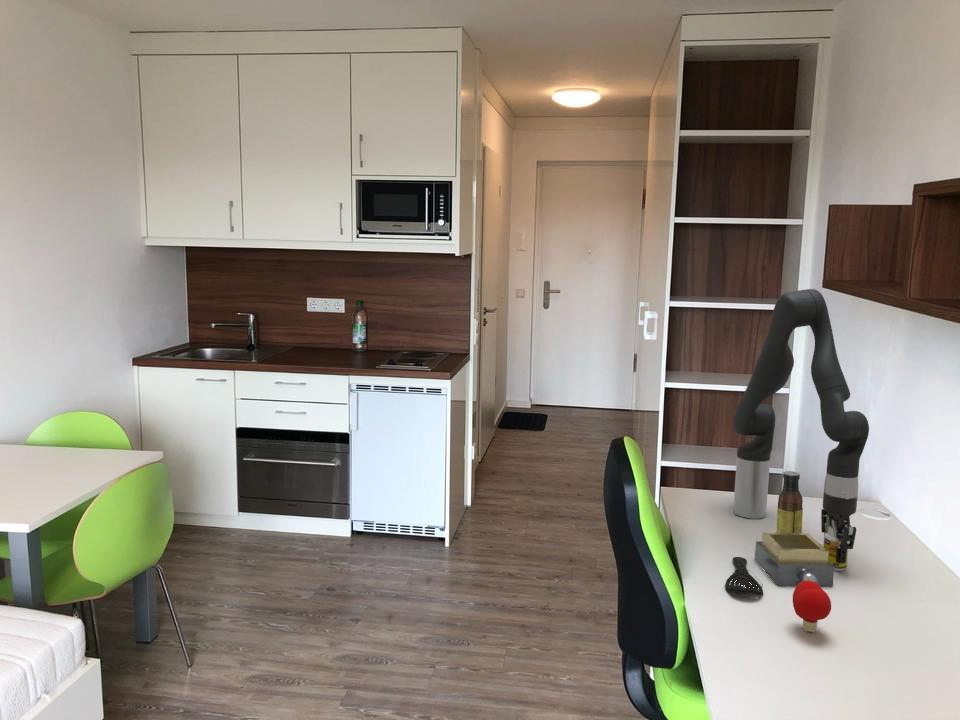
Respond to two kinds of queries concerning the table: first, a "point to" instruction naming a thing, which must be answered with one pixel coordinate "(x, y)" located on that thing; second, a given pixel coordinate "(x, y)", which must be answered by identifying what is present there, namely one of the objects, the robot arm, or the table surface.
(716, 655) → the table surface
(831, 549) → the supplement bottle
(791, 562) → the drawer with knob
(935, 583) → the table surface
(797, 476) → the sauce bottle
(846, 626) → the table surface
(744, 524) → the table surface
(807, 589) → the red toy tree
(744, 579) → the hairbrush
